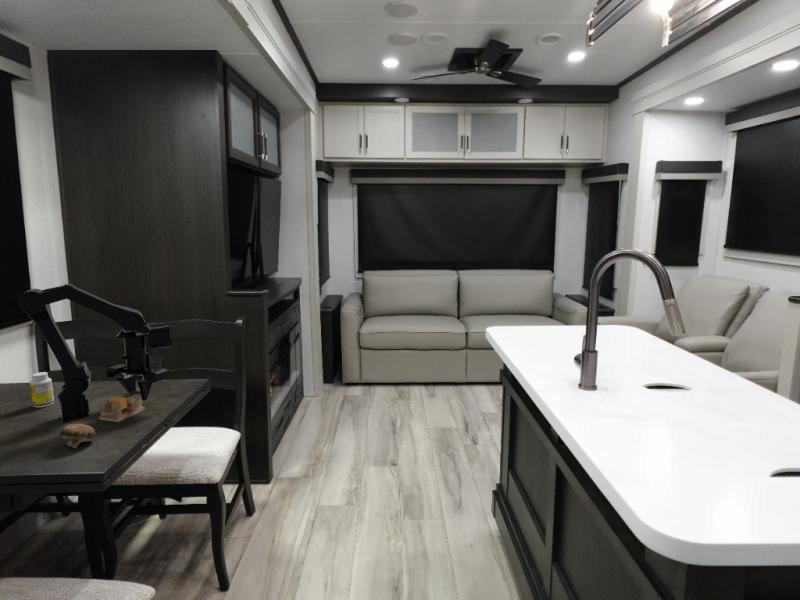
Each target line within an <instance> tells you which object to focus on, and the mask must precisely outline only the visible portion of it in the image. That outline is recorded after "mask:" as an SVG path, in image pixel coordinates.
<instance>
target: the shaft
mask: <svg viewBox="0 0 800 600" xmlns="http://www.w3.org/2000/svg"><path fill="white" fill-rule="evenodd" d="M135 394H141V392H140V389H139V387H136V388H135V389H133V390H131V396H133V395H135ZM131 396H129V397H131ZM127 398H128V397H127ZM141 398H142V395H141ZM147 402H149V397H148V398H147V400H145V401H144V400H143V398H142V405H143V404H146V403H147ZM112 404H114V403H112ZM109 410H110V411H112V405H111V404H110V405H109Z"/></svg>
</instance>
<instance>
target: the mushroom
mask: <svg viewBox="0 0 800 600" xmlns="http://www.w3.org/2000/svg"><path fill="white" fill-rule="evenodd" d="M59 435H60V437H61V438H63V439H65V440H67V442H66V446H69V447H71V448H73V449H78V447H79V445H80V444H81V443H83V442H84V443H87V442H92V441H94V440H95V439H96V438H97V433H96V430H95V429H94V427H92V426H90V425H88V424H82V423H72V424H71V423H70V424H67V425H65V426H64V427H63V428H62V429H61V431H60V432H59Z"/></svg>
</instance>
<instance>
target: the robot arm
mask: <svg viewBox="0 0 800 600" xmlns="http://www.w3.org/2000/svg"><path fill="white" fill-rule="evenodd" d="M65 300H69V301H71V302H73V303H76V304H78V305H80V306H83V307H85V308H87V309H90V310H92V311H94V312H96V313H99V314H101V315H103V316H106V317H108V318H110V319H111V320H112V321H113V322H115V323H116V324H117V325H119V326H120V327H122V328H123V329H120V331H119V333H117V334H116V339H119V340H120V339H123V345H124V346H123V347H124V354H123V355H121V358H122V360H125V364H123V363H122V364H121V363H120V364H117V365H113V366H110V367H108V368H107V370H106V378H112V379H115V378H116V377H117V376H118V378H116V381H117V382H119V384H120V385H121V386H122V387H123V388H124V390H125V391H126V393H130V396H131V390H133V389H135V388H137V386H138V388H139V389H140V392H141V395H142V398H143V400H144V401H145V400H147V398H148V399H149V395H150V391H151V388H152V385H153V383H157V382H159V381H162V380H165V379H167V378H169V370H168V369H167V368H162V367H161V366H162V360H163V357H157V356H151V354H150V351H149V352H148V351H147V350H146V349H147V347H150V348H152V350H154V349H155V350H156V349H157V350H158V349H164V348H165V349H166V348H167V349H168V348H173V346H172V345H173V342H172V336H171V330H170V329H171V327H170V325H164V326H157V327H155V326H154V327H151V325H150V324H149V323H147V322H146V320H144V317H143V314H142V312H141V311H139V310H138V309H135V308H131V307H128V306H123V305H118V304H115V303H112V302H110V301H108V300H107V299H103V298H102V297H99V296H97V295H94V294H92V293H90V292H88V291H86V290H83V289H81V288H78V287H77V286H75V285H74V284H72V283H65V284H63V285H59V286H55V287H51V288H45V289H39V288H30V289H29V290H26V291H25V292H23V293H22V294H21V295H20V296H19V298H18V304H19V307H20V309H21V310H23V312H24V313H25V314H26V315H27V316H28V317H29V318H30V319H31V320H32V321H33V322H35V324H36V325H37V327H38V328H39V330H40V332H41V334H42V335H43V337H44V339H45V341H46V343H47V345H48V347H49V348H50V350H51V352H52V353H53V355H54V357H55V358H56V361H57V362H58V365H59V366H60V370H61V374H62V379H63V382H64V385H62V386H61V388H60V390H59V392H58V395H57V399H58V404H59V405H58V406H59V416H58V417H59V418H60V420H61V421H62V422H63V423H65V422H70V421H73V420H79V419H84V418H87V417H89V416H90V415H89V413H90V407H89V399H88V398H87V397H86V394H85V393H84V392H86V391H87V390H88V389H89V386H90V384H91V383H90V382H91V378H92V377H91V376H92V371H91V370H90V369H89V368H88V365H87V362H86V361H83V362H82V363H81V362H80V361H78V360H77V358H76V357H75V356H74V354H73V352H72V350H71V348H70V346H69V344H68V342H67V341H66V338H64V335H63V334H62V332H61V330H60V328H59V327H58V324H57V322H56V321H55V319H54V317H53V313H52V308H51V304H54V303H57V302H59V301H65ZM125 330H126V331H125ZM145 337H146V338H145ZM146 339H147V345H146ZM146 346H147V347H146ZM154 367H155V368H154ZM138 377H142V378H141V380H138V381H137V378H138ZM136 381H137V383H136ZM136 384H137V385H136Z"/></svg>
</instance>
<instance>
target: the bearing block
mask: <svg viewBox="0 0 800 600" xmlns="http://www.w3.org/2000/svg"><path fill="white" fill-rule="evenodd" d="M129 396H130V393H128V392H124V393H121V394H119V395H116V396H115V397H123V398H127V397H128V398H127V408H124V409H122V410H121V405H120V403H114V404H111V405H112V410H110V408H109V401H105V400H103V401H101V402H99V408H100V415H99V416H98V419H99V420H101V421H109V422H115V423H120V422H122V421H124V420H126V419H128V418H130V417H132V416H135V415H137V414H139V413H141V412H143V411H145V410H146V408H145V407H146V406H143V404H142V398H141V394H135V395H133V396H131V397H129Z"/></svg>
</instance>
